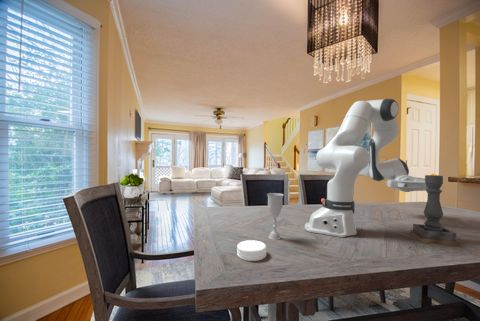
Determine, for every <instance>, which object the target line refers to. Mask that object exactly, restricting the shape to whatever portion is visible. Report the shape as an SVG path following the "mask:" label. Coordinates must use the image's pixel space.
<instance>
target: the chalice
mask: <svg viewBox="0 0 480 321" xmlns="http://www.w3.org/2000/svg"><path fill="white" fill-rule="evenodd" d="M266 196H267V206H268V211H269V213H270V215H271V216H272V218H273V220H272V222H273V225H272V227H273V229H272V230H271V232H269V235H268V239H270V240H272V241H273V240H274V241H277V240H281V239H282V238H281V235H280V232H279V231H277V227H278V225H277V217H279V215H280V213H281V212H282V209H283V197H284V194H283V193H277V192H269V193H266Z"/></svg>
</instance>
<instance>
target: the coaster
mask: <svg viewBox="0 0 480 321" xmlns="http://www.w3.org/2000/svg"><path fill="white" fill-rule="evenodd" d="M236 248H237V249H236V252H237V257H238V258H239V259H241V260H244V261H249V262H257V261H258V262H259V261H261V260H264V259H265V258H266V257H267V245H266V244H265V243H264V242H263V241H260V240H253V239H248V240H243V241H240V242H239V243H238V244H237V245H236Z"/></svg>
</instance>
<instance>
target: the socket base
mask: <svg viewBox="0 0 480 321" xmlns="http://www.w3.org/2000/svg"><path fill="white" fill-rule="evenodd" d="M424 226H425V224H418V223H412V229H410V230H409V234H410V235H412V236H413V237H414V238H416V239H417V240H418V241H420V242H421V243H425V244H432V243H433V245H444V246H453V247H461V242H460V241H458V240H457V233H455V232H454V231H452V230H450V229H448V228H446V227H445V226H442V227H441V228H442V229H443V232H440V231H428V230H425V229H423V227H424Z"/></svg>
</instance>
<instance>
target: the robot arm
mask: <svg viewBox="0 0 480 321" xmlns="http://www.w3.org/2000/svg"><path fill="white" fill-rule="evenodd" d="M398 114H399V104H398V102H397V101H396V100H395V99H393V98H384V99H370V100H357V101H355V102H354V103H353V104H352V105H351V106H350V107H349V109H348V111H347V113H346V114H345V116H344V118H343V121H342V123H341V125H340V127H339V129H338V131H337V133H336V134H335V135H334V136H333V138H332V139H331V140H330V141H329V142H328V143H327V144H326V145H325V146H324V147H322V148H321V149H319V150H318V151H317V153H316V158H315V160H316V163H317V165H318V166H320V167H322V168H324V169H328V170H335V174H334V176H333V177H332V178H331V179H329V181H327V185H326V186H327V187H326V199H325V198H321V200H320V201H321V203H322V204H321V205H322V206H321V207H319V208H318V209H317V210H314V212H312V213H311V215H310V216H309V217H310V218H309V221H308V222H307V221H306V222H305V224H304V230H306V231H307V232H308V233H315V234H321V235H328V236H333V237H340V238H345V237H348V236H355V235H356V234H358V232H357V231H358V230H357V228H356V223H355V215H354V214H355V208H356V207H355V206H356V205H355V201H354V192H355V190H354V189H355V184H356V180H357V177H358V176H359V174H360V173H361V172H362V171H363V170H364V169H366V168H367V167H368V173H369V177H370V179H371V180H374V181H375V182H376V181H377V182H381V181H384V180H386V179H387V180H386V181H384V182H383V183H384V184H385V185H386V187H388V188H393V189H394V190H398V191H400V192H404V193H411V192H418V191H419V192H420V191H421V192H422V191H423V192H424V191H425V192H426V189H428V187H427V186H426V183H425V177H416V176H415V177H414V176H412V175H409V173H410V172H409V171H410V169H409V166H408V164H407V163H406V162H405V161H404V160H403V159H402V158H401V159H400V158H399V157H395V158H391V159H389V160H385V161H382V162H380V160H379V158H380V157H379V156H380V155H379V154H380V152H381V150H382V149H383V148H384V147H386V146H387V145H389V144H391V143H392V142H393V141H395V140H396V139H397V137H398V135H399V133H400V132H399V123H398V120H397V119H398V118H397V116H398ZM370 123H372V128H373V135H372V138H371V139H370V140H369V142H368V149H367V148H365V147H363V146H359V145H358V144H360V143H361V142H362V141H363V139H364V137H365V134H366V132H367V130H368V127H369V125H370ZM368 165H369V166H368Z"/></svg>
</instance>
